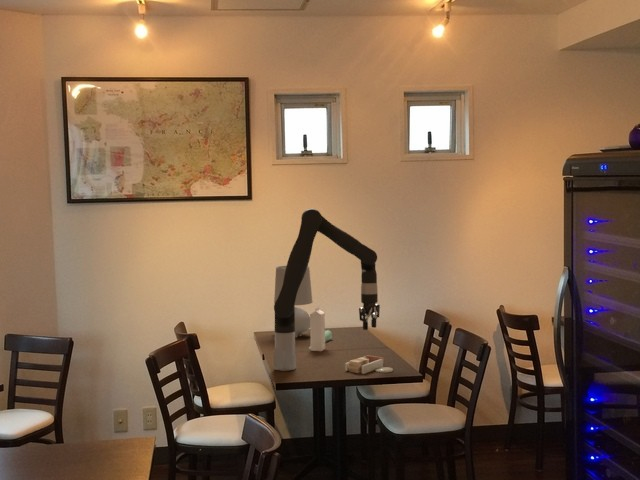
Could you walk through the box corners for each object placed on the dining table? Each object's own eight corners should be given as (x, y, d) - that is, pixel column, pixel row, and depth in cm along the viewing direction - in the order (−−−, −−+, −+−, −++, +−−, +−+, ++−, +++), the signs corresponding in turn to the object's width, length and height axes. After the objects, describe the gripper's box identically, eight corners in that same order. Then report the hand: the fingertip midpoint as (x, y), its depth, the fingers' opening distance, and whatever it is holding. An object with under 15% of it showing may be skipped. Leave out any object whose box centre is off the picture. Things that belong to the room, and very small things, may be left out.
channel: (363, 373, 310) (363, 364, 310) (345, 370, 316) (344, 362, 316) (384, 366, 324) (384, 357, 323) (366, 363, 330) (365, 354, 329)
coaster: (387, 373, 310) (387, 372, 310) (371, 371, 314) (371, 369, 314) (396, 370, 316) (396, 368, 316) (381, 367, 321) (381, 366, 321)
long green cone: (304, 339, 363) (323, 329, 387) (304, 349, 363) (323, 339, 388) (313, 340, 361) (332, 330, 385) (314, 350, 361) (332, 340, 386)
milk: (310, 350, 359) (309, 308, 358) (314, 348, 365) (313, 306, 363) (322, 351, 357) (320, 308, 356) (325, 348, 363) (324, 306, 361)
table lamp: (265, 337, 396) (263, 266, 393) (288, 330, 414) (287, 263, 411) (298, 341, 383) (296, 268, 380) (320, 334, 400) (319, 264, 398)
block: (358, 373, 312) (357, 362, 311) (349, 371, 315) (349, 360, 315) (369, 370, 318) (368, 359, 317) (360, 368, 321) (360, 357, 321)
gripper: (367, 294, 313) (367, 331, 314) (384, 291, 325) (385, 326, 326) (353, 293, 318) (354, 330, 319) (371, 290, 329) (371, 325, 330)
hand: (369, 328), depth 322 cm, fingers open, 6 cm apart
